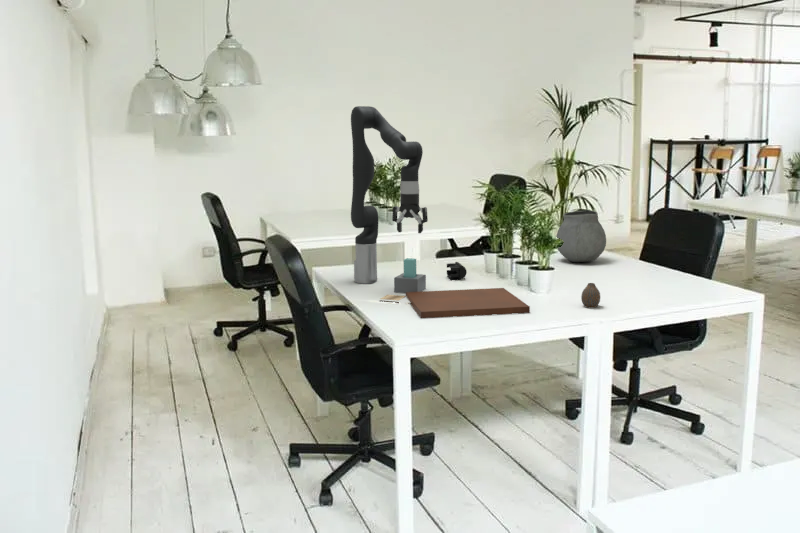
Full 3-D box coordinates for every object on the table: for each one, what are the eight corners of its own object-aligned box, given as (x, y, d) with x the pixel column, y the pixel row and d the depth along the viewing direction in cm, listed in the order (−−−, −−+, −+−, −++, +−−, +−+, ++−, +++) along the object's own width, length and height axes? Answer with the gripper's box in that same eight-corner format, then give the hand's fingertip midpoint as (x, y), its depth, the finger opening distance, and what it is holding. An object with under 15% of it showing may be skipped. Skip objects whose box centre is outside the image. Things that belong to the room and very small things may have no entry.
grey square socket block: (394, 294, 304) (394, 277, 303) (403, 289, 314) (403, 273, 312) (417, 296, 301) (417, 279, 300) (425, 291, 310) (425, 274, 309)
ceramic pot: (552, 257, 387) (554, 208, 382) (601, 257, 384) (603, 209, 380) (557, 266, 363) (559, 214, 358) (609, 266, 361) (611, 214, 356)
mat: (379, 301, 293) (379, 298, 293) (387, 297, 300) (387, 294, 300) (398, 302, 290) (398, 300, 290) (406, 298, 297) (406, 296, 297)
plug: (403, 291, 306) (403, 259, 304) (407, 289, 310) (407, 258, 307) (413, 291, 305) (412, 260, 302) (416, 289, 308) (416, 258, 306)
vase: (588, 303, 286) (589, 280, 285) (603, 306, 281) (604, 283, 279) (577, 306, 282) (578, 283, 280) (592, 309, 277) (593, 286, 275)
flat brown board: (529, 314, 273) (503, 295, 305) (529, 306, 272) (503, 287, 304) (420, 320, 267) (405, 299, 299) (420, 311, 266) (405, 292, 298)
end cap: (466, 280, 332) (466, 265, 330) (450, 281, 331) (450, 265, 330) (461, 276, 341) (461, 261, 340) (446, 276, 341) (446, 261, 339)
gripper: (389, 192, 299) (390, 233, 302) (423, 193, 294) (423, 234, 297) (396, 191, 306) (396, 230, 309) (429, 191, 301) (429, 232, 304)
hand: (409, 232), depth 303 cm, fingers open, 8 cm apart
